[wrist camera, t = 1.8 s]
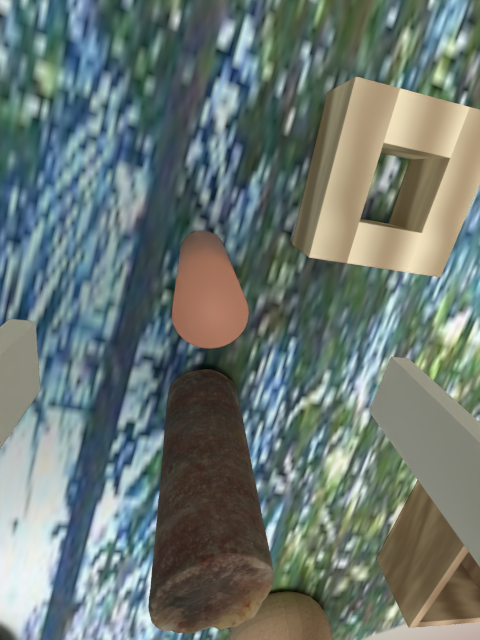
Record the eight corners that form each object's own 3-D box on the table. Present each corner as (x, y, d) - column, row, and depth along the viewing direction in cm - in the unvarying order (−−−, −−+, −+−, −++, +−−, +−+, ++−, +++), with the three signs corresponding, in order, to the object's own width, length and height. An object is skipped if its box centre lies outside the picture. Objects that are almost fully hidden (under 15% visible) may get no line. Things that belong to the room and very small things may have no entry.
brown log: (186, 351, 34) (180, 558, 16) (248, 374, 36) (306, 580, 18) (157, 407, 36) (124, 643, 18) (217, 426, 39) (241, 653, 21)
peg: (177, 271, 31) (168, 345, 18) (182, 227, 29) (175, 273, 16) (221, 277, 31) (241, 351, 19) (227, 234, 30) (255, 283, 17)
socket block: (291, 244, 31) (309, 257, 26) (327, 92, 26) (356, 76, 22) (406, 262, 33) (440, 277, 29) (457, 125, 28) (508, 117, 24)
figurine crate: (376, 559, 54) (408, 627, 46) (422, 472, 47) (470, 536, 39) (456, 556, 57) (500, 620, 49) (512, 474, 50) (574, 534, 42)
